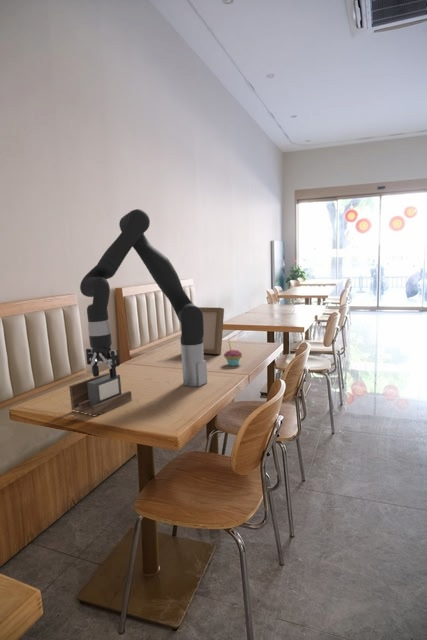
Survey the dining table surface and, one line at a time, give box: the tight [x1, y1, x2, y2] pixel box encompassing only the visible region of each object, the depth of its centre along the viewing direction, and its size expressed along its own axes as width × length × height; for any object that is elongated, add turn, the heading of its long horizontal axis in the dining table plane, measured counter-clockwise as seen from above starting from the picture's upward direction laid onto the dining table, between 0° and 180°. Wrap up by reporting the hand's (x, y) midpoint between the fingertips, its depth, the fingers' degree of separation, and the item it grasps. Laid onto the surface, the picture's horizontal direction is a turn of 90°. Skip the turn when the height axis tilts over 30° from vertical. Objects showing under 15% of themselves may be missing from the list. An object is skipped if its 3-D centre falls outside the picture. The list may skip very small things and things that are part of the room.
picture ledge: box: [68, 372, 133, 416], centre depth 154 cm, size 12×18×10 cm, turn 148°
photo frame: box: [198, 306, 225, 355], centre depth 233 cm, size 15×22×25 cm
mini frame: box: [87, 373, 123, 407], centre depth 153 cm, size 4×12×9 cm, turn 147°
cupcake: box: [223, 340, 243, 367], centre depth 203 cm, size 9×8×12 cm
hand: (104, 377), depth 152 cm, fingers open, 8 cm apart
